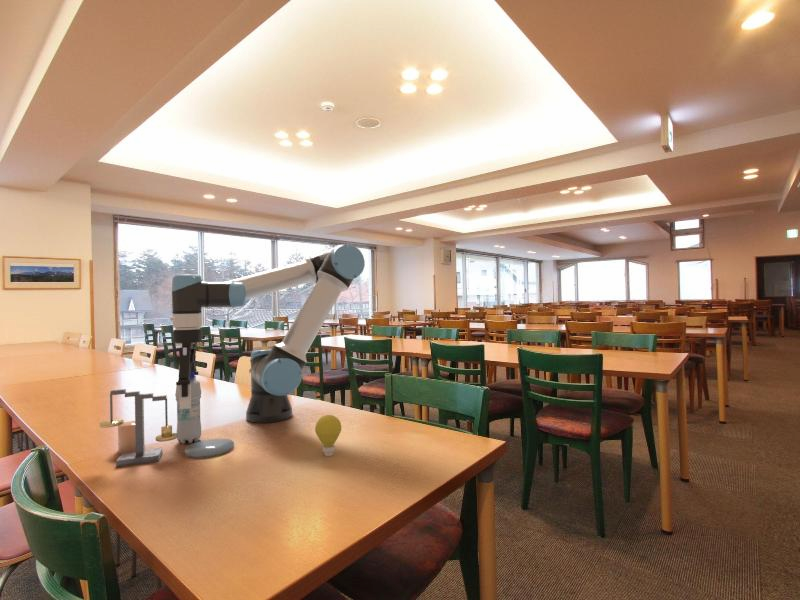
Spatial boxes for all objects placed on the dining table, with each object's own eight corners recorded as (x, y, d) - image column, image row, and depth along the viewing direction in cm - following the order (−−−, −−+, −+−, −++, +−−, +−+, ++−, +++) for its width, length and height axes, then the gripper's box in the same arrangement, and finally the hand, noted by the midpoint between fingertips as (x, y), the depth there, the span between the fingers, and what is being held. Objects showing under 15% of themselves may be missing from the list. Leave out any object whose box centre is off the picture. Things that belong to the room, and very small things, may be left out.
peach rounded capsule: (146, 444, 118) (146, 419, 118) (141, 451, 112) (141, 425, 112) (121, 447, 116) (121, 422, 116) (115, 454, 110) (115, 428, 110)
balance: (179, 451, 112) (178, 383, 112) (176, 459, 106) (175, 387, 106) (104, 460, 106) (102, 389, 106) (96, 469, 100) (95, 394, 100)
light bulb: (346, 451, 110) (345, 412, 110) (334, 460, 104) (333, 420, 104) (323, 448, 112) (323, 411, 112) (310, 457, 106) (309, 417, 106)
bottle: (191, 445, 116) (190, 373, 116) (170, 444, 117) (169, 373, 117) (207, 437, 123) (206, 369, 123) (187, 436, 124) (186, 369, 124)
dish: (234, 439, 120) (234, 436, 120) (233, 454, 109) (233, 450, 109) (187, 445, 116) (187, 442, 116) (181, 461, 105) (181, 457, 105)
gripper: (178, 326, 130) (179, 395, 130) (165, 331, 107) (166, 415, 107) (205, 325, 133) (206, 392, 133) (197, 330, 110) (198, 412, 110)
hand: (188, 402), depth 120 cm, fingers open, 13 cm apart
